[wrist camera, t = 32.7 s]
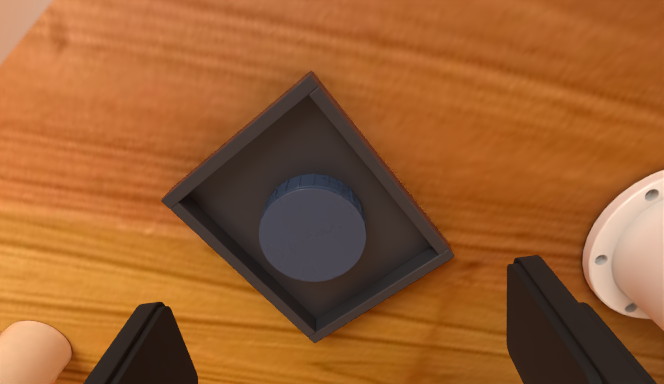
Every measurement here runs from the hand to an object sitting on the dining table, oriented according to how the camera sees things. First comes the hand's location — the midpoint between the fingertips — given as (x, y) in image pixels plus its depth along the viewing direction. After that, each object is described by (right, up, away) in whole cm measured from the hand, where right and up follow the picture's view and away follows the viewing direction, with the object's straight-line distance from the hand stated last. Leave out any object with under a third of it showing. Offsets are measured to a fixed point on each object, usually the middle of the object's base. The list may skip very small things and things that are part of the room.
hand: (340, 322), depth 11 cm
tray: (-2, +2, +18) cm, 18 cm away
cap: (-2, +1, +15) cm, 15 cm away
